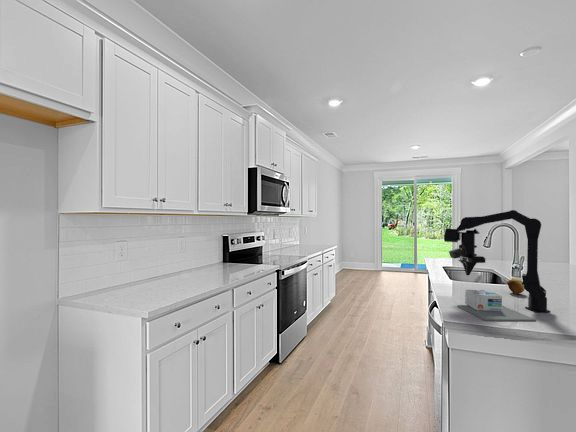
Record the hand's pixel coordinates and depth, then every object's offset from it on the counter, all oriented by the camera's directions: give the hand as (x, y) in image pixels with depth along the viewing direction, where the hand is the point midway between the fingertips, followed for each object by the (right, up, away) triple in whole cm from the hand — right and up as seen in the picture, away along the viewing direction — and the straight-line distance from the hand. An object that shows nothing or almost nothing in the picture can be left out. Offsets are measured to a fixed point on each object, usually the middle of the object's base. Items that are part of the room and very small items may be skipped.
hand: (467, 275), depth 160 cm
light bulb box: (-1, -8, -10) cm, 13 cm away
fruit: (+33, -12, +13) cm, 37 cm away
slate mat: (-1, -12, -22) cm, 25 cm away
